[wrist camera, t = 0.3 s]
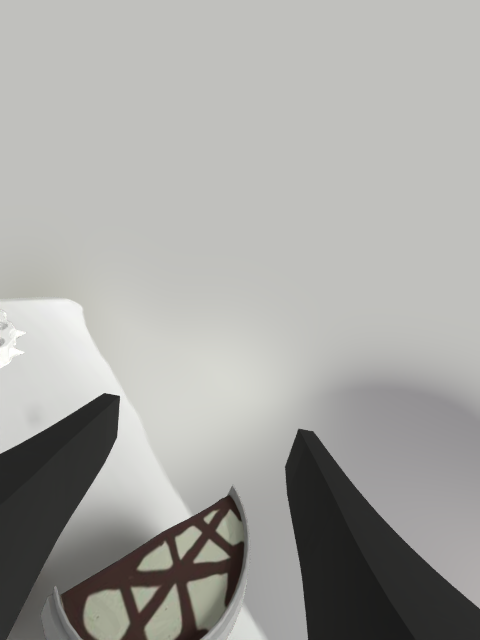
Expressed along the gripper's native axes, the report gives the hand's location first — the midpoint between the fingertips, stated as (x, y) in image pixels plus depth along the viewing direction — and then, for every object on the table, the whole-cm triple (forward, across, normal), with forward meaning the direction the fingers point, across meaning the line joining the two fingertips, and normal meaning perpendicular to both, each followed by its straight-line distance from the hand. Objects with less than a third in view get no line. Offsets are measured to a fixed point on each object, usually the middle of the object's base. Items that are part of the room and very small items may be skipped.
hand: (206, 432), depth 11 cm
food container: (+1, 0, +21) cm, 21 cm away
